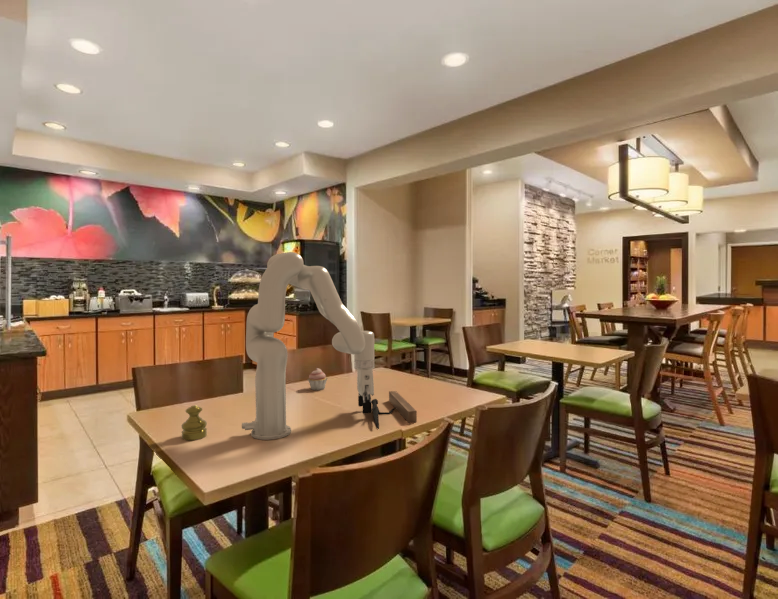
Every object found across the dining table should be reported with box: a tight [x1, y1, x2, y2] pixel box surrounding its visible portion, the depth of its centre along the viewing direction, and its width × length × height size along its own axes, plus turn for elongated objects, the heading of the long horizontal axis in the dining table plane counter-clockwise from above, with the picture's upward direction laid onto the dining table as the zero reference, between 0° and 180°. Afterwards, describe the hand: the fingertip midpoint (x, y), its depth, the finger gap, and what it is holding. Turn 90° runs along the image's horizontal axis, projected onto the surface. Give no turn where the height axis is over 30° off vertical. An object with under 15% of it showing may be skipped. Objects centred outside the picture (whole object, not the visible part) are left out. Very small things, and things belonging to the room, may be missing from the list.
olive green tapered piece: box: [181, 404, 208, 441], centre depth 142 cm, size 7×7×10 cm
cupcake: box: [307, 367, 328, 391], centre depth 206 cm, size 9×9×10 cm
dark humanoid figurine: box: [371, 398, 397, 430], centre depth 161 cm, size 8×9×25 cm
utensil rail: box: [388, 390, 418, 424], centre depth 170 cm, size 3×30×4 cm, turn 13°
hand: (364, 409), depth 166 cm, fingers open, 9 cm apart
